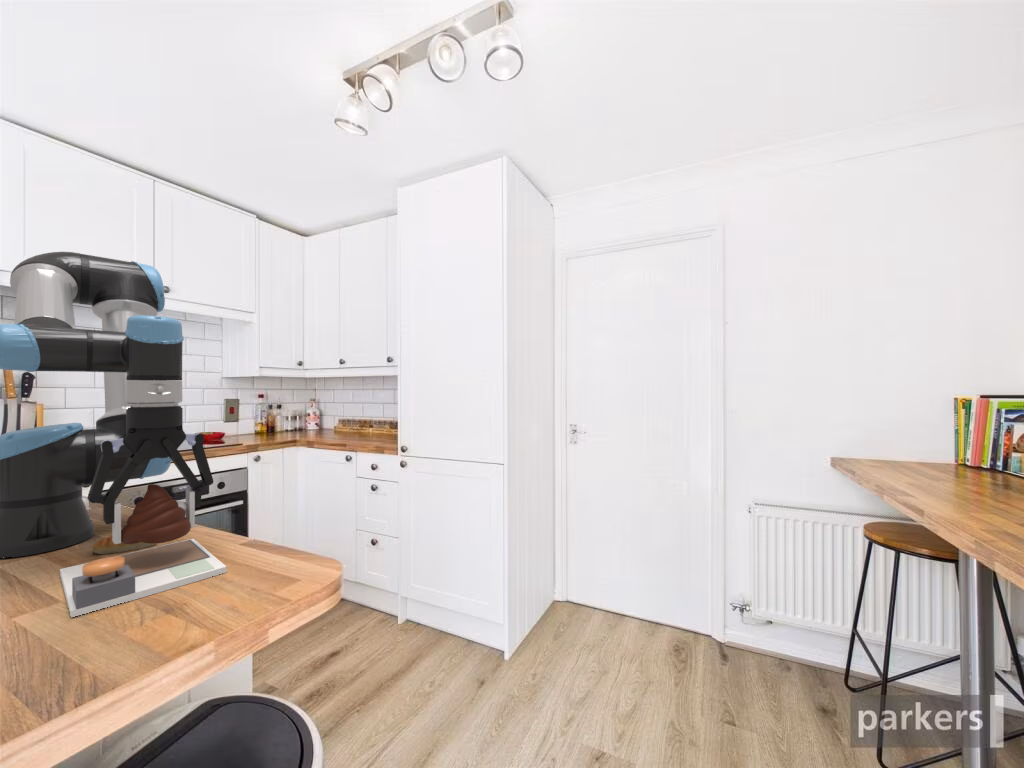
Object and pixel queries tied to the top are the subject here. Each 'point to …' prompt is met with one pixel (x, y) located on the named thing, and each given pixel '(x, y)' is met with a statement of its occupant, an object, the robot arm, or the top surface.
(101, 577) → the button
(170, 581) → the picture board
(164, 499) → the poop emoji
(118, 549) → the pastry
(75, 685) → the top surface
